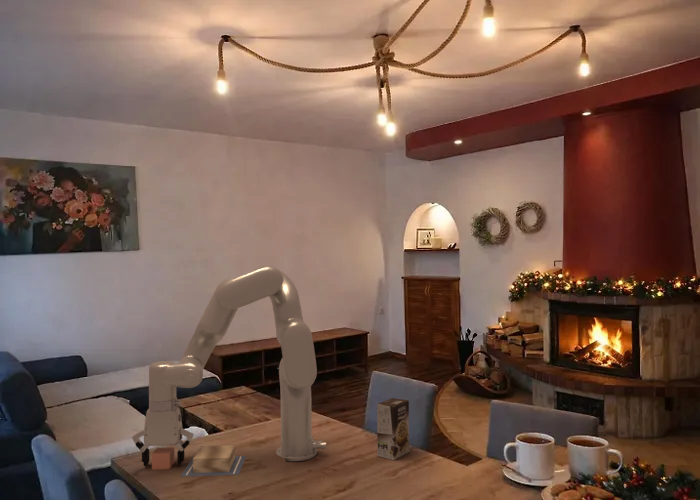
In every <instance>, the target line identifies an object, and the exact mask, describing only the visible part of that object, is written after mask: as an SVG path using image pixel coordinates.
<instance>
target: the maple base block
mask: <svg viewBox="0 0 700 500" xmlns="http://www.w3.org/2000/svg"><path fill="white" fill-rule="evenodd" d="M235 456H236V445H235V444H233V445H231V444H230V445H201V446H200V448H199V449H198V450H197V452H196V454H195V455H194V458H193V457H192V458H193V473H212V472H229V471H230V469H231V467H232V465H233V462H234V460H235Z"/></svg>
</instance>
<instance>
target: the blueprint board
mask: <svg viewBox="0 0 700 500" xmlns="http://www.w3.org/2000/svg"><path fill="white" fill-rule="evenodd" d="M193 458H194V457H192V458H191V460H190V461H189V462H188V464H187V465H186V467H185V469H184V470H183V472H182V473H181V475H180V477H206V476H207V477H209V476H237V475H238V476H239V475H240V473H241V470H242V468H243V465H244V463H245V460H246V458H247V455H238V456H237V455H235V460H234V462H233V465H232V467H231V469H230V471H229V472H212V473H193Z"/></svg>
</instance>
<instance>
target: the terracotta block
mask: <svg viewBox="0 0 700 500" xmlns="http://www.w3.org/2000/svg"><path fill="white" fill-rule="evenodd" d="M175 460H176V459H175V446H173V447H172V446H171V447H156V448H155V450H154V451H153V452H152V453H151V470H153V471H155V470H171V468H172V466H173V465H174V464H175Z"/></svg>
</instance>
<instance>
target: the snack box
mask: <svg viewBox="0 0 700 500" xmlns="http://www.w3.org/2000/svg"><path fill="white" fill-rule="evenodd" d="M409 404H410V401H409V400H407V399H402V398H393V397H391V398H389V399H386V400H384V401H381V402H378V403H377V404H376V407H377V408H376V411H377V412H376V419H377V423H376V426H377V429H376V430H377V432H376V435H377V437H376V438H377V441H376V444H377V445H376V446H377V447H376V448H377V450H376V451H377V453H376V454H377V457H381V458H383V459H388V460H390V461H395V460H397V459H399V458H401V457H402V456H404V455H406V454H408V453H409V452H410V405H409Z"/></svg>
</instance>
